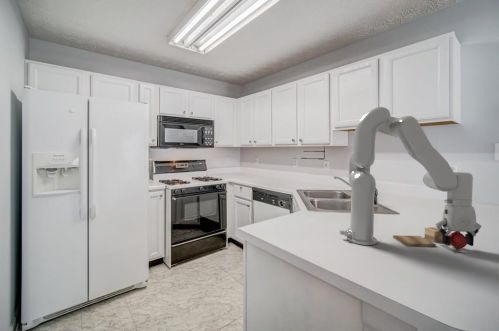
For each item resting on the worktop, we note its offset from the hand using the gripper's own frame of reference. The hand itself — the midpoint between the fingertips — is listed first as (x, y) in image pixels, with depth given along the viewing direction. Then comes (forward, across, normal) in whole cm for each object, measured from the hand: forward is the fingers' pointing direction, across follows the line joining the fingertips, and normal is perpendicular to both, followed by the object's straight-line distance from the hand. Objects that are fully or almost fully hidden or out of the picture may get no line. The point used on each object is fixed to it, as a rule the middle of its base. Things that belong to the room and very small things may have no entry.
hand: (457, 244), depth 94 cm
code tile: (+2, 0, 0) cm, 2 cm away
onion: (+2, 0, 0) cm, 2 cm away
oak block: (+2, -2, +10) cm, 10 cm away
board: (+2, -13, +7) cm, 15 cm away
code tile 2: (+2, -2, +10) cm, 10 cm away
